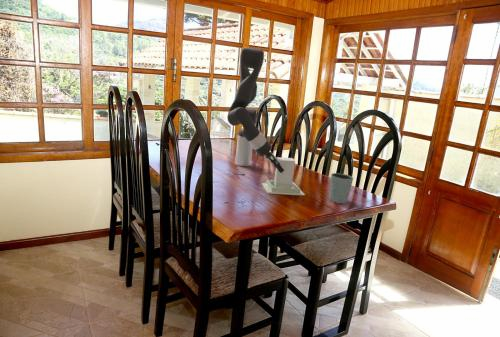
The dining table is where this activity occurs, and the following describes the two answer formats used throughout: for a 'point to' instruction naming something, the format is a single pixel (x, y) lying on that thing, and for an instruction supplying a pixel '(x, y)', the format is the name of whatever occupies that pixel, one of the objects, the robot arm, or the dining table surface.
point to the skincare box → (284, 173)
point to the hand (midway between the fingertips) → (280, 169)
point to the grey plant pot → (340, 187)
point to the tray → (281, 189)
